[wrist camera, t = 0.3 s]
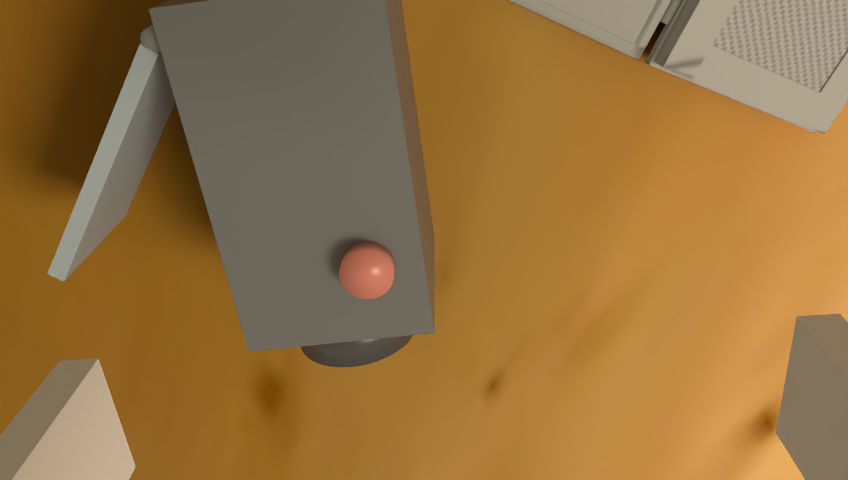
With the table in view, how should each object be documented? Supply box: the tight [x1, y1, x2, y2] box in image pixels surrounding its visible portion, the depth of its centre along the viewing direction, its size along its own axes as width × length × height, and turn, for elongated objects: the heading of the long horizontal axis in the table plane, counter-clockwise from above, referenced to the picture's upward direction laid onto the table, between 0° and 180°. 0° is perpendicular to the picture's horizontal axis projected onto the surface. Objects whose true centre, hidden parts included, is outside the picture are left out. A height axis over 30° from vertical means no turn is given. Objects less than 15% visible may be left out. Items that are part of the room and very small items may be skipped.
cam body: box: [149, 0, 434, 367], centre depth 35 cm, size 19×9×11 cm, turn 7°
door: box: [48, 25, 176, 281], centre depth 34 cm, size 13×2×8 cm, turn 150°
